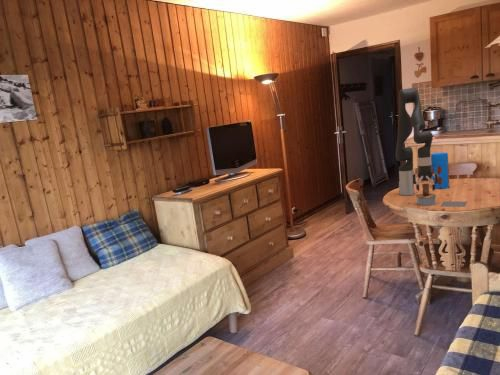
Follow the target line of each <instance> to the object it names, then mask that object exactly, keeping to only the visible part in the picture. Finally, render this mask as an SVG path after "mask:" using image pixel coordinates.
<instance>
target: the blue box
mask: <svg viewBox="0 0 500 375" xmlns="http://www.w3.org/2000/svg"><path fill="white" fill-rule="evenodd" d="M430 157H431V163H432V164H431V167H432V174H436V173H437V174H438V181H439V182H438V183H437V184H435V190H445V189H446V190H447V189H449V188H450V174H449V154H448V152H433V153H430ZM431 178H432V179H433V181H434V182H436V181H435V177H434V176H432V177H431Z"/></svg>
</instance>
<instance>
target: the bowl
mask: <svg viewBox="0 0 500 375" xmlns="http://www.w3.org/2000/svg"><path fill="white" fill-rule="evenodd" d="M436 198H437V196H436V197H434V198H427V199H423V198H417V197H416V201H417V205H418V206H422V207H423V206H424V207H425V206H434V205H436V204H437V200H436Z"/></svg>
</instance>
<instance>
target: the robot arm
mask: <svg viewBox="0 0 500 375" xmlns="http://www.w3.org/2000/svg"><path fill="white" fill-rule="evenodd" d="M407 104H413V105H414V107H413V111H412V112H411V115H410V114H409V112H408V110H407V108H406V105H407ZM426 126H427V125H426V122H425V119H424V116H423V113H422V104H421V99H420V93H419V90H418V89H417V88H416V87H410V88H403V89H400V90H399V94H398V120H397V135H396V136H397V139H396V147H395V160H396V161H397V162H404V161H405V163H403V164H401V165H400V166H399V167H398V176H399V178H398V179H399V181H398V188H399V190H398V191H399V196H413V195H415V186H416V190H417V191H418V192H419V191H420V183H421V182H430V183H431V184H432V186H431V187H432V192H434V191H435V190H436V189H435V184H437V183H438V182H439V181H438V174H437V173H436V174H432V166H431V164H432V163H431V148H432V143H433V139H434V135H433V133H432V132H431V131H430V130H426V131H425V129H426ZM412 132H413V142H414V143H415V144H417V145H421V144H424V145H423V146H421V147H418V148H417V170H418V171H417V172H418V173H417V174H416V173H414V151H413V148H412V147H411V146H406V147H404V145H405V143H406V141H407V140H408V139H409V137H410V135H411V134H412ZM432 176H434V177H435V181H436V182H434V181H433V179H432ZM417 177H418V180H416V178H417Z"/></svg>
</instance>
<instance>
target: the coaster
mask: <svg viewBox="0 0 500 375" xmlns="http://www.w3.org/2000/svg"><path fill="white" fill-rule="evenodd" d="M467 204H468V201H459V200H458V201H453V200H452V201H451V200H450V201H447V200H444V201H442V203H441V204H440V206H439V207H444V208H445V207H449V208H450V207H451V208H454V207H455V208H457V207H458V208H462V207H463V208H465V207H466V206H467Z"/></svg>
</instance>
